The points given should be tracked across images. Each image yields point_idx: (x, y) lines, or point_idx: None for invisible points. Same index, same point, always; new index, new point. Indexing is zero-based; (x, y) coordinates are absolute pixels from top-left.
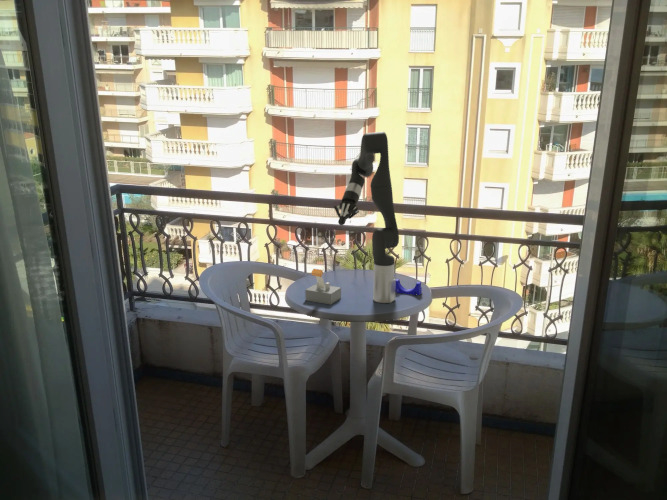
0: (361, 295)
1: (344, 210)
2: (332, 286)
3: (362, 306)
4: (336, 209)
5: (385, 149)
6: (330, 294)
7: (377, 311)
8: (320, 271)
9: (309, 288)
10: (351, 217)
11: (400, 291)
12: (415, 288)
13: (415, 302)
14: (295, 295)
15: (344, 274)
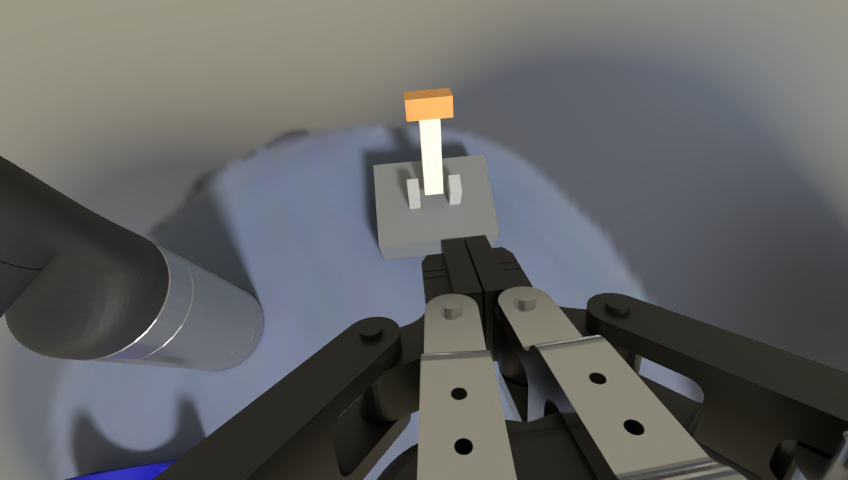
0: (327, 331)
1: (546, 421)
2: (417, 239)
3: (271, 225)
4: (795, 375)
5: None
6: (375, 166)
7: (205, 210)
8: (408, 95)
9: (481, 173)
10: (349, 420)
11: (175, 460)
12: (81, 477)
13: (91, 373)
14: (545, 197)
15: None
